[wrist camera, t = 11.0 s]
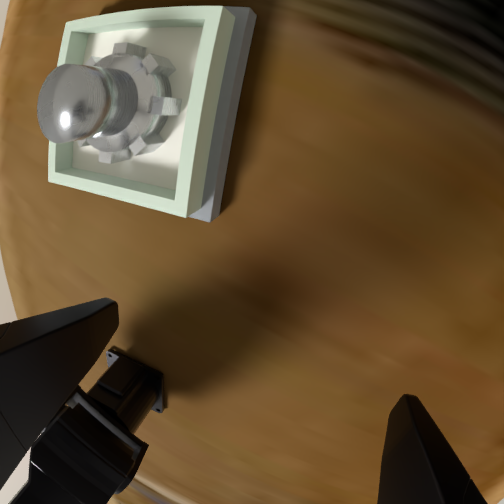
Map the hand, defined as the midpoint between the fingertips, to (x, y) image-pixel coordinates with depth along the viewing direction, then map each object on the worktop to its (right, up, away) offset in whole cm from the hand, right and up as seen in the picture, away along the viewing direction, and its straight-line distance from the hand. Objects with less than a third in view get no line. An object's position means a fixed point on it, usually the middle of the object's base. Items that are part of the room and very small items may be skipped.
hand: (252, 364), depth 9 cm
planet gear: (-8, +12, +9) cm, 17 cm away
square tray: (-7, +13, +10) cm, 18 cm away
